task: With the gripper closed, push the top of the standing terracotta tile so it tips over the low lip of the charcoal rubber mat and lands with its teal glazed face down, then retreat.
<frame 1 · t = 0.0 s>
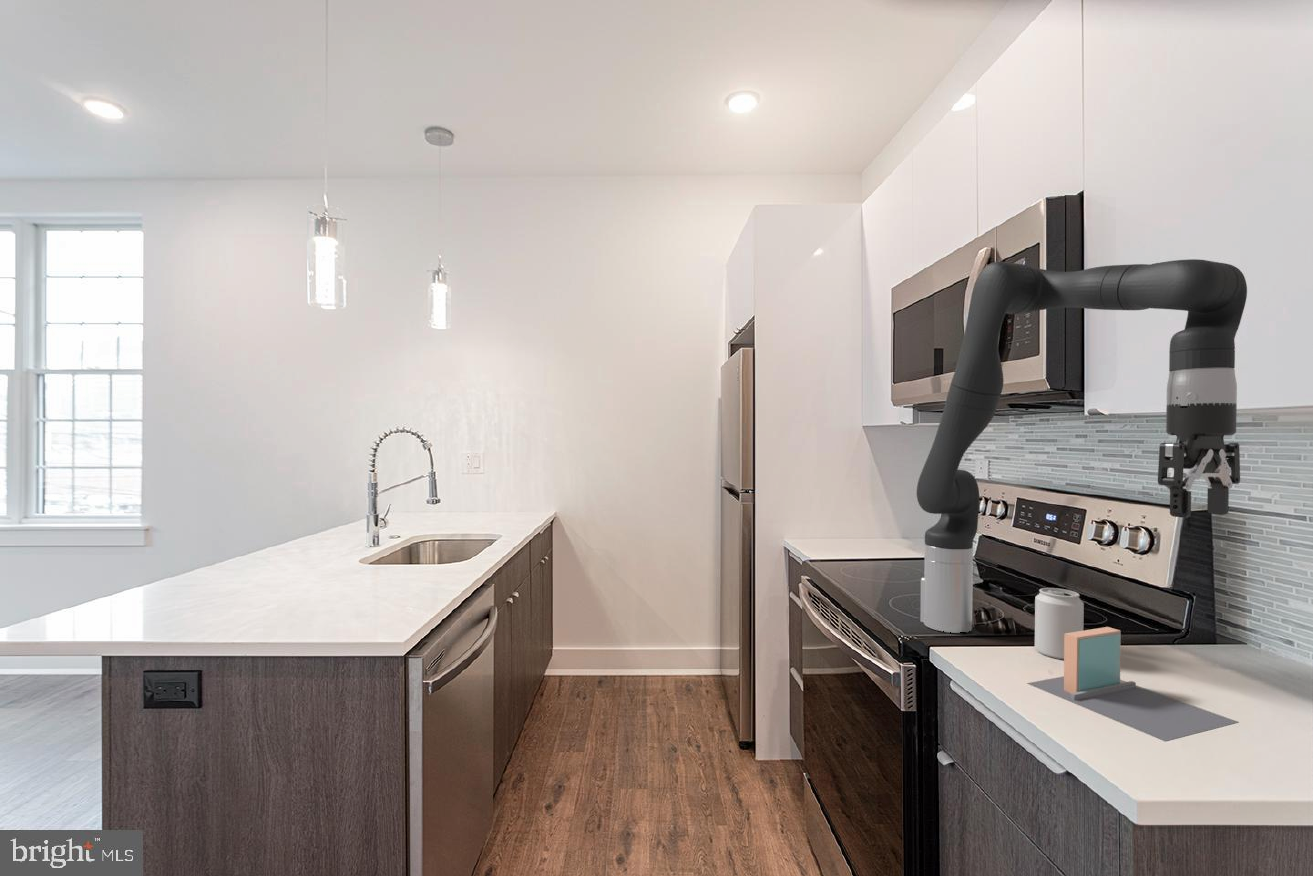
hand: (1199, 515, 88), 29 cm above the countertop, fingers open, 8 cm apart
can: (1058, 656, 114), on the countertop
tile: (1092, 688, 98), resting on mat
mat: (1125, 703, 94), on the countertop
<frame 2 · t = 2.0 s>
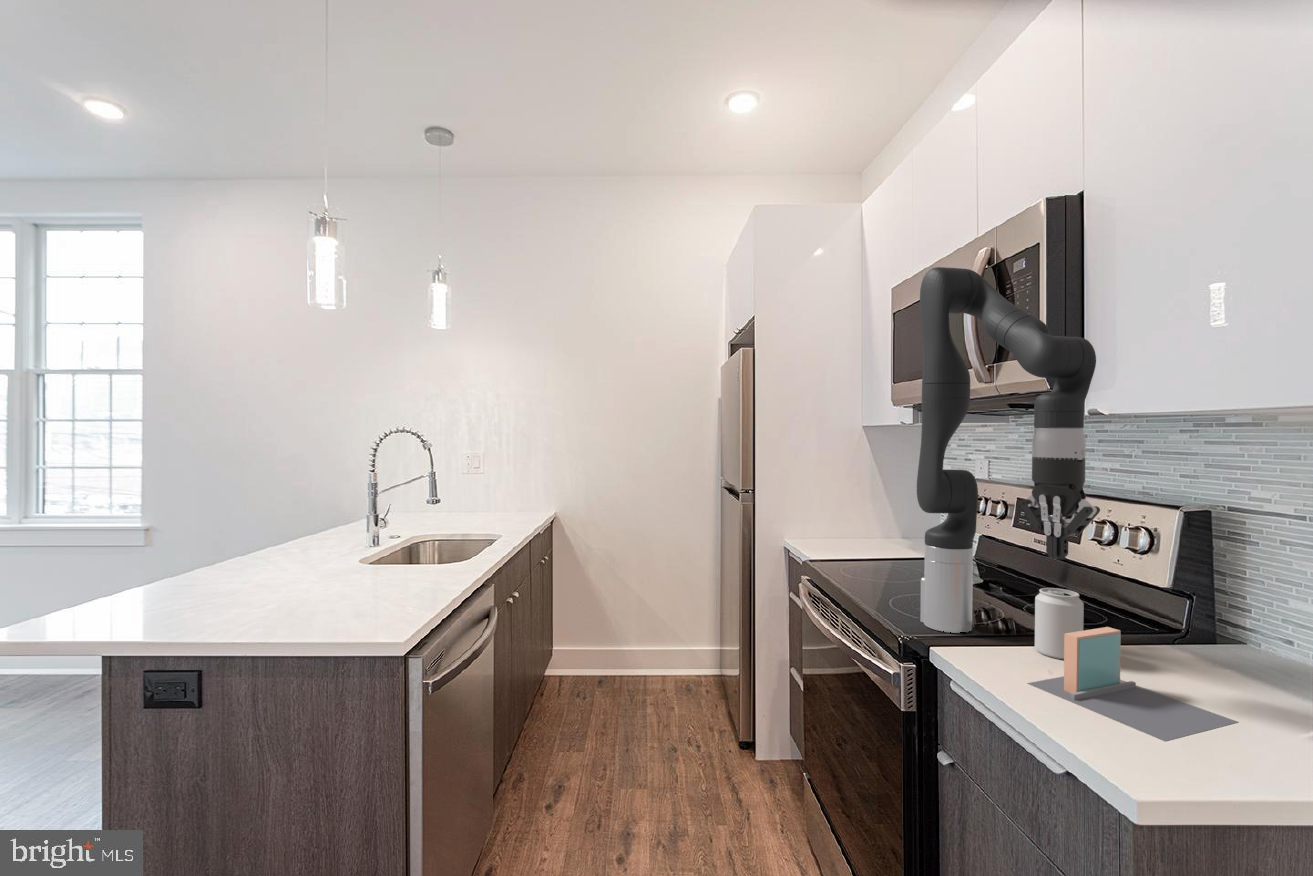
hand: (1057, 558, 104), 20 cm above the countertop, fingers closed
nothing on the countertop moved.
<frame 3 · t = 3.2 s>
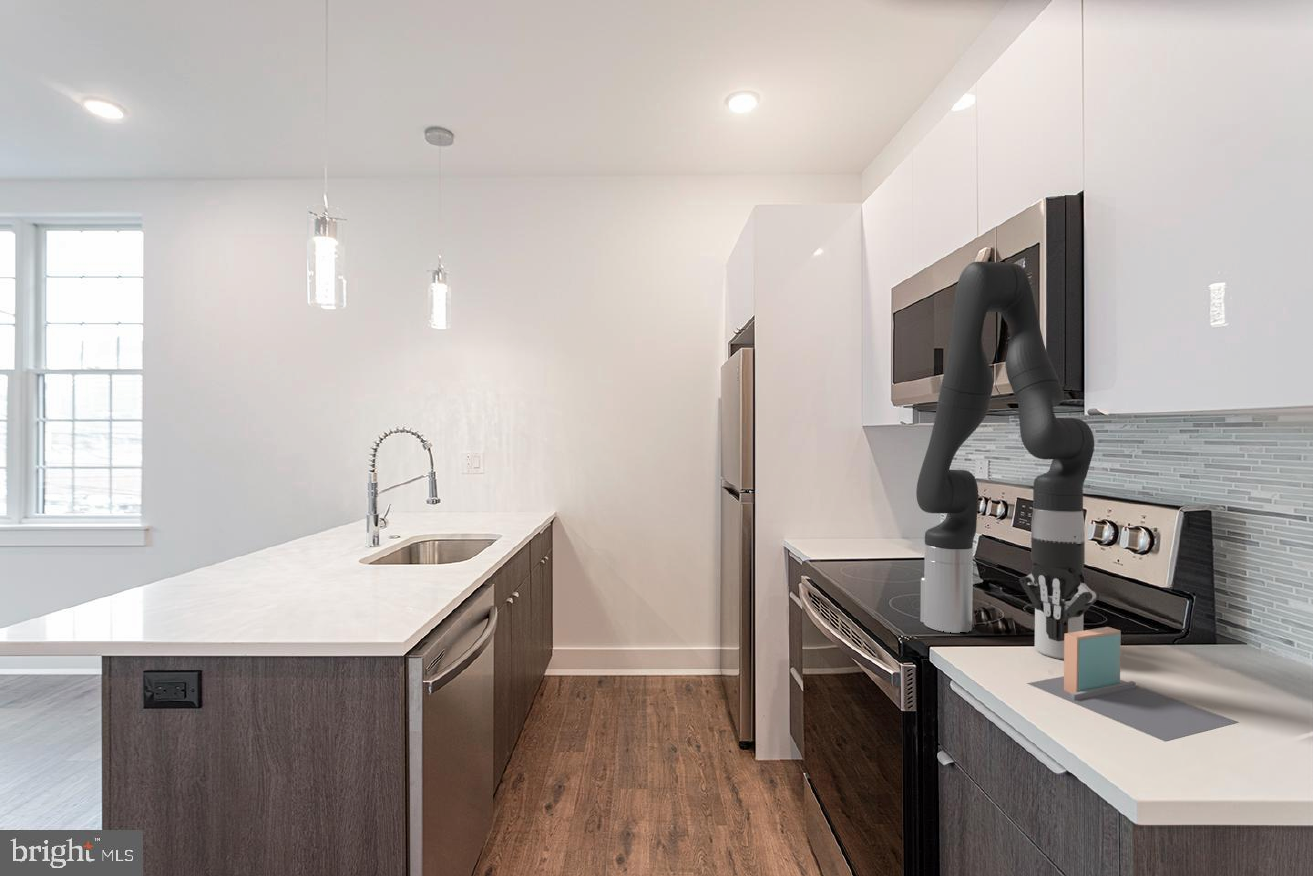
hand: (1057, 639, 104), 6 cm above the countertop, fingers closed
nothing on the countertop moved.
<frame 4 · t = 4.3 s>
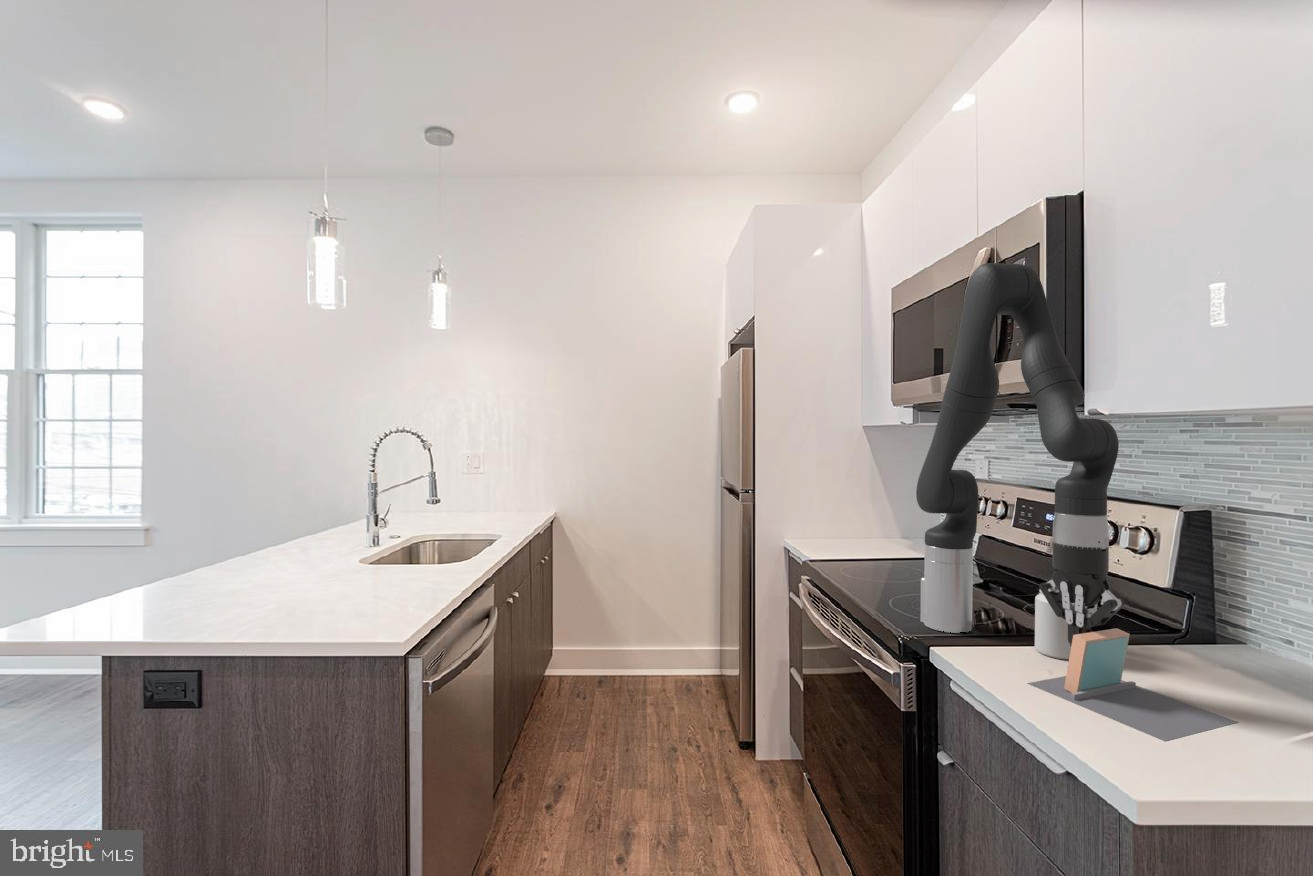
hand: (1079, 648, 100), 6 cm above the countertop, fingers closed
tile: (1092, 687, 98), point 1 cm above the countertop, tilted 9°, touching mat
everything else where it was.
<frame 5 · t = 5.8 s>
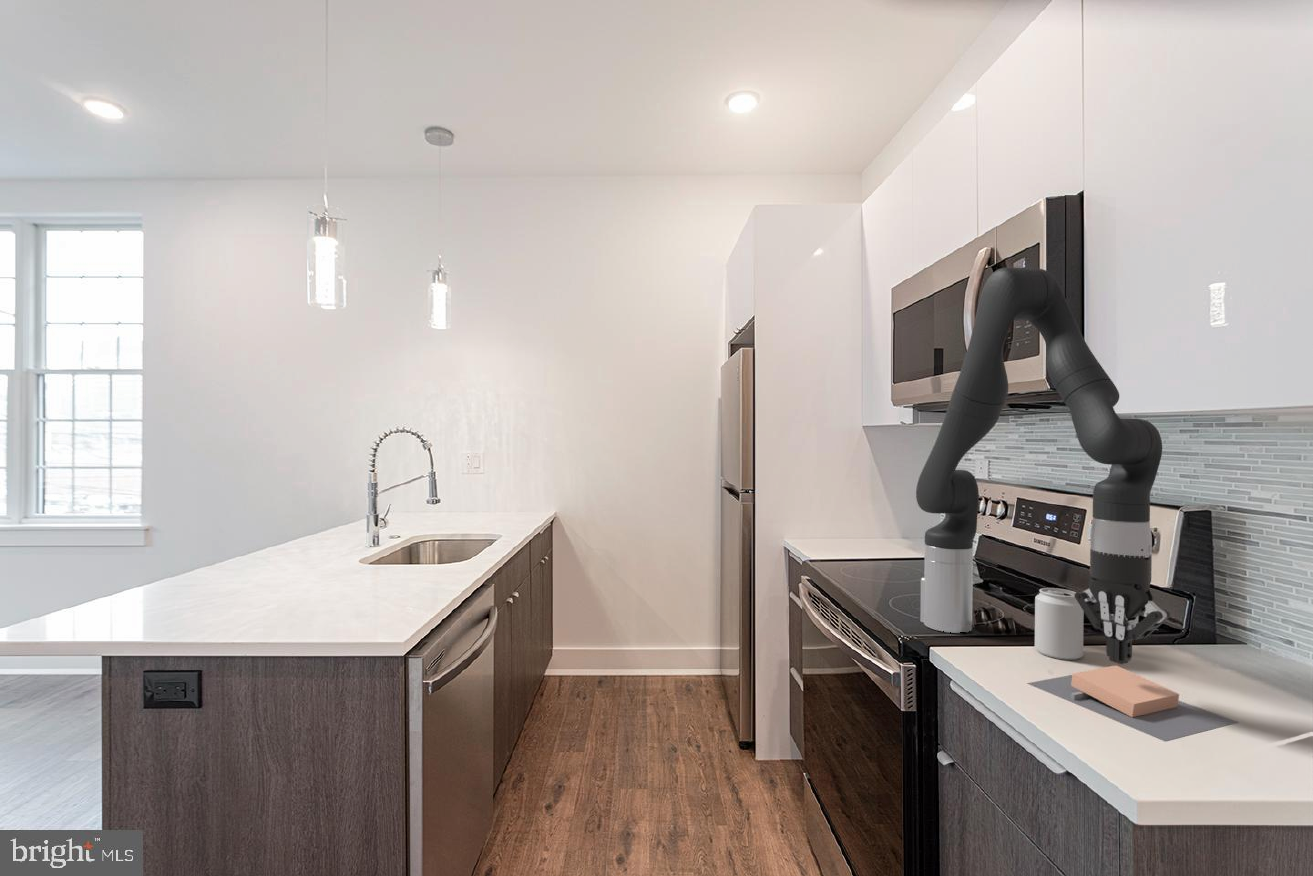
hand: (1119, 662, 94), 6 cm above the countertop, fingers closed
tile: (1093, 675, 98), point 3 cm above the countertop, tilted 97°, touching mat
everything else where it was.
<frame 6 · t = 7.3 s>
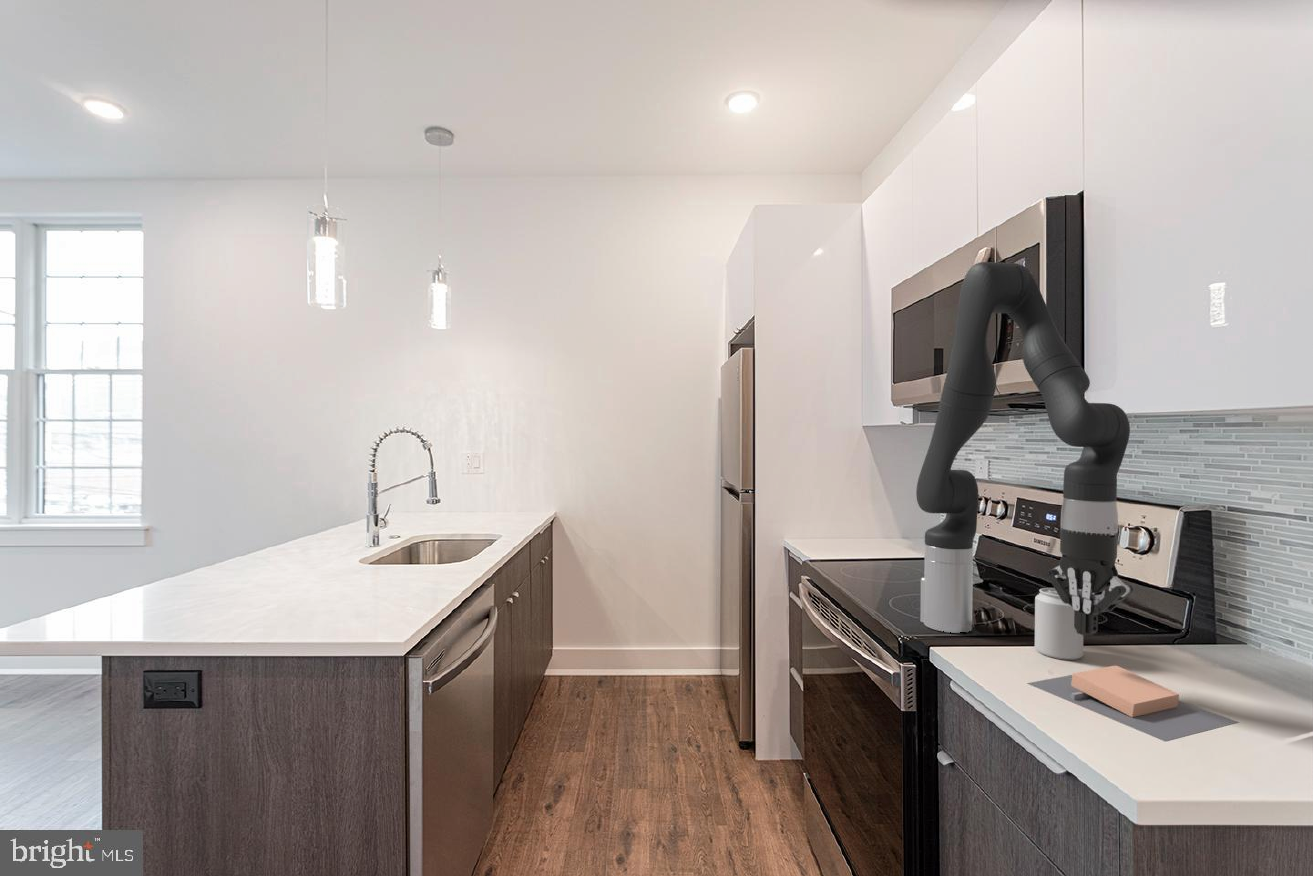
hand: (1085, 634, 99), 9 cm above the countertop, fingers closed
nothing on the countertop moved.
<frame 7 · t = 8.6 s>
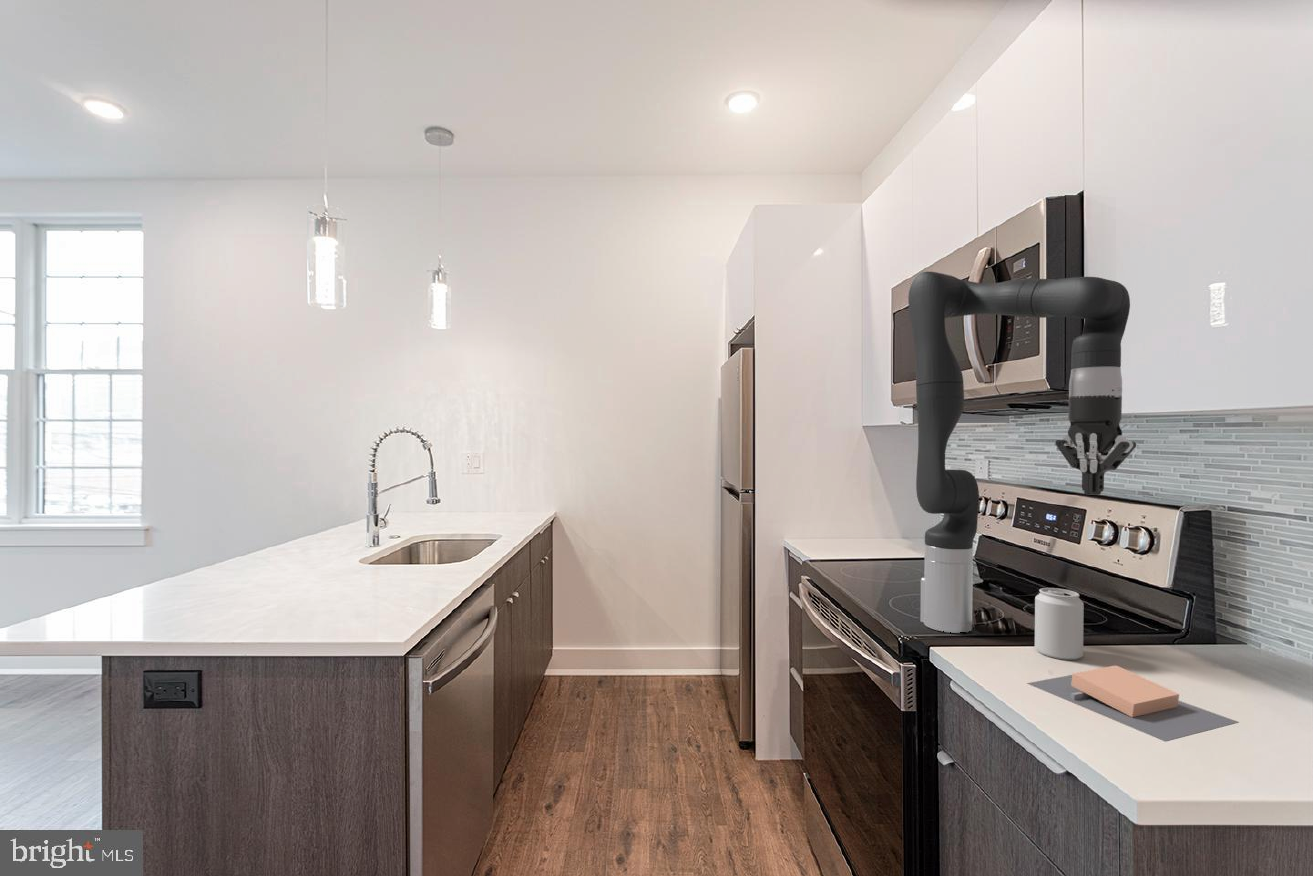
hand: (1092, 494, 107), 30 cm above the countertop, fingers closed
nothing on the countertop moved.
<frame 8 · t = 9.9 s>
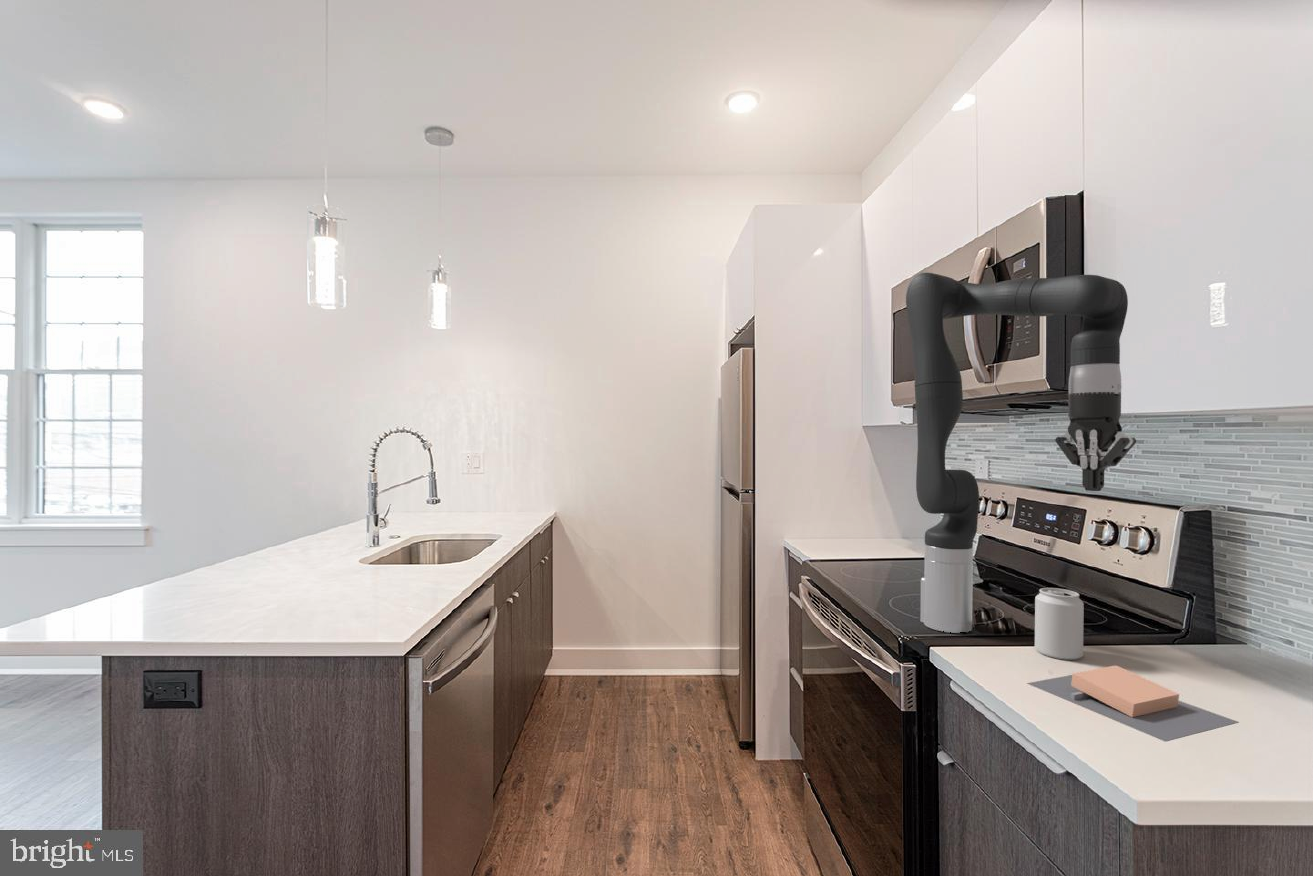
hand: (1093, 490, 108), 31 cm above the countertop, fingers closed
nothing on the countertop moved.
at the end: tile tilted 97°; tile inside the target area on the mat (6.0 cm from its centre), point 2.6 cm above the mat's base; can moved 0.2 cm from its start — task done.
